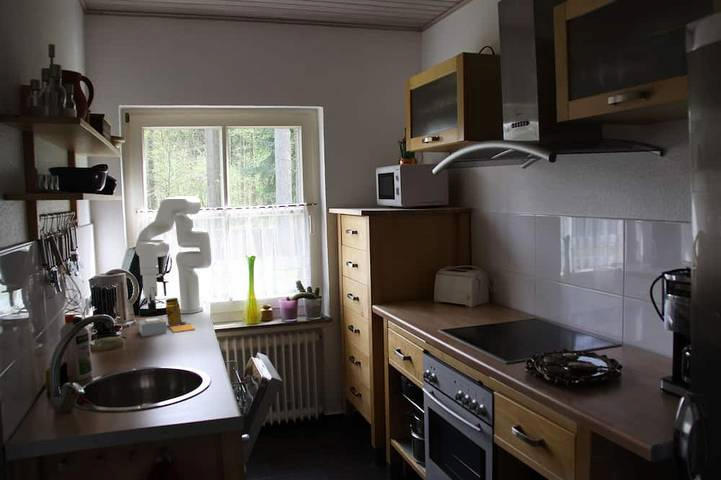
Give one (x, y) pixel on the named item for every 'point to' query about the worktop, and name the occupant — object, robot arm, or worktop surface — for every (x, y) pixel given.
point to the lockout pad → (182, 328)
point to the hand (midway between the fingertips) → (152, 311)
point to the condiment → (173, 312)
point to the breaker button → (152, 320)
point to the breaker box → (152, 327)
